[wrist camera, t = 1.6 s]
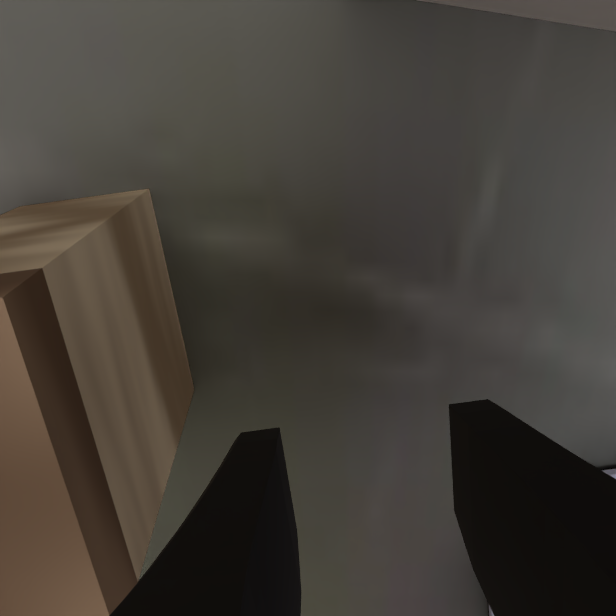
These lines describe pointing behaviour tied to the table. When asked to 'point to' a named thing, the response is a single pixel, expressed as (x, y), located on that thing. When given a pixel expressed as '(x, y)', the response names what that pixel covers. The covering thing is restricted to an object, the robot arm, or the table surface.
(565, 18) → the tall grey block
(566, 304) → the table surface
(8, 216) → the maple block
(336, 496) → the table surface
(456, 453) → the robot arm
